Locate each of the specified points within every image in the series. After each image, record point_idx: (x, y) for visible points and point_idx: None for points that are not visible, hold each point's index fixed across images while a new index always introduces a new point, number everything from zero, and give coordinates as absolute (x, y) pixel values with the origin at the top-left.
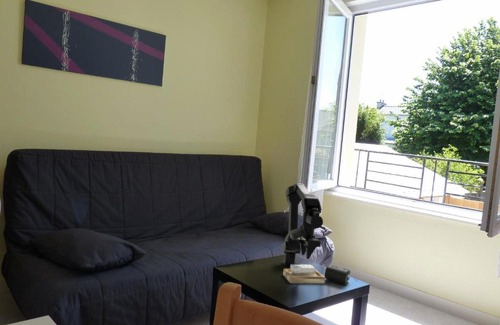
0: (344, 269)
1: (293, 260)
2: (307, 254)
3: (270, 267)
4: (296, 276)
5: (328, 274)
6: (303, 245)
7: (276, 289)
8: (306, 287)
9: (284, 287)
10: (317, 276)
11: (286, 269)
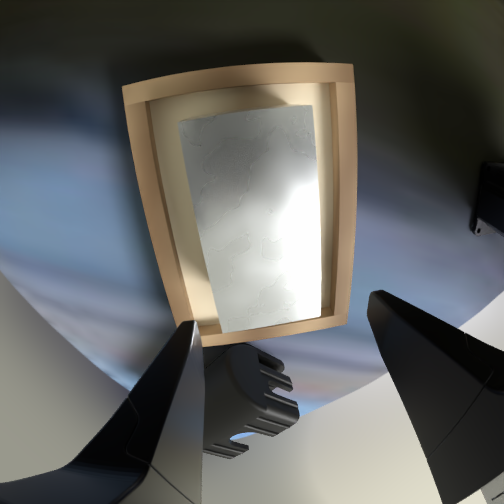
0: (232, 450)
1: (496, 219)
2: (147, 376)
3: (460, 49)
4: (134, 133)
5: (209, 376)
6: (451, 405)
7: (29, 3)
8: (81, 194)
9: (57, 43)
10: (178, 308)
11: (331, 81)
